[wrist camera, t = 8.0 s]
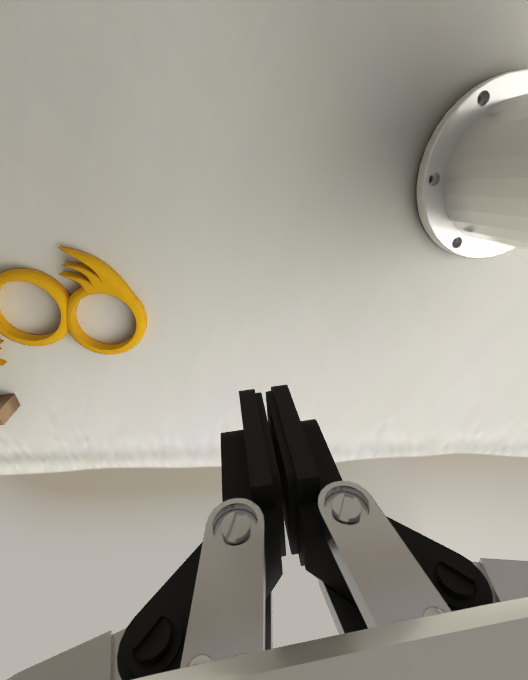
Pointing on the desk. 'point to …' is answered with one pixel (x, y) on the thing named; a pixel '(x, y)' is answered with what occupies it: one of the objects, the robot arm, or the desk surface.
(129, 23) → the desk surface
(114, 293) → the yellow triple ring ornament
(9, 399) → the display stand
